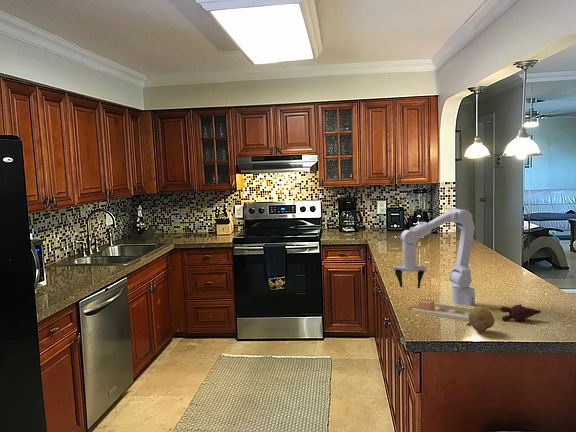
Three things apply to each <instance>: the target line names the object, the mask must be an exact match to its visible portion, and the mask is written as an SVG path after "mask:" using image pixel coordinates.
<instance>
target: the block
mask: <svg viewBox="0 0 576 432" xmlns="http://www.w3.org/2000/svg"><path fill="white" fill-rule="evenodd" d="M435 303H436V302H435V300H432V299H431V300H430V299H425V298H424V299H423V298H422V299H421V300H419V301H418V303H417V304H418V308H419V309H422V310H428V311H435Z"/></svg>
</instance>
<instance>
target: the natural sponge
mask: <svg viewBox="0 0 576 432" xmlns="http://www.w3.org/2000/svg"><path fill="white" fill-rule="evenodd" d="M471 309H472V310H471V311H470V312H469V320H470V323H471V325H472V326H471V327H472V329H474V330H475V332H478V333H483V332H485V331H487V330H488V329H491V328H492V327H493V326H494V325H495V318H494V315H493V313H492V311H490V309H488V308H487V307H485V306H482V305H480V306H475V307H472V308H471Z"/></svg>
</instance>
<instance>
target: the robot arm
mask: <svg viewBox="0 0 576 432" xmlns="http://www.w3.org/2000/svg"><path fill="white" fill-rule="evenodd" d="M447 223H454V224H455V225H456V226H457V227H458V228H459V229H460V237H459V241H458V242H459V243H458V249H457V255H456V260H455V261H456V262H455V264H454V265H453V266H452V269H451V271H450V272H449V275H448V278H449V279H448V280H449V281H450V282H451V303H453V305H454V304H455V305H463V306H476V291H475V288H474V287H470V285H471V283H472V277H471V274H472V272H471V269H470V267H469V264H470V258H471V252H472V246H473V242H474V241H473V240H474V234H475V229H476V228H475V223H474V221H473V214H472V213H471V212H470V211H469V210H467V209H461V208H456V207H455V208H451V209H450V210H447V211H445V212H444V213H442V214H441V215H439V216H437V217H435V218H434V219H432V220H430V221H429V222H426V221H420V222H418V225H415V226H411V227H410V228H409V229H405V230H403V231H402V233H401V234H400V235H399V239H400V241H401V242H402V265H393V266H392V272H394V274H395V276H396V278H397V280H398V284H399V287H400V288H402V287H403V272H417V274H416V275H417V289H420V288H421V283H422V279H423V277H424V274H425V273H427V271H428V270H427V267H426V266H418V265H417V252H416V251H417V248H416V247H417V246H416V243H417V242H418V240H420V239H421V238H423V237H426V236H428V235H430V234H431V233H432V230H433V229H436V228H438V227H439V226H442V225H444V224H447Z"/></svg>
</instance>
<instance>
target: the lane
mask: <svg viewBox="0 0 576 432" xmlns="http://www.w3.org/2000/svg"><path fill="white" fill-rule="evenodd" d="M440 309H444V311H443V310H440ZM445 309H446V311H445ZM472 309H473V308H470V307H464V306H458V305H449V304H443V303H438V302H437V303H436V302H435V311H428V310H422V309H419V307H418V308H417V307H416V308H415V307H412V308H411V313H413V314H414V313H415V314H421V315H426V316H432V317H438V318H445V319H450V320H456V321H462V322H467V323H466V324H465V326H470V327H472V325H471V323H470V320H469V312H470V311H471V310H472ZM457 311H459V312H462V313H457Z"/></svg>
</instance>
